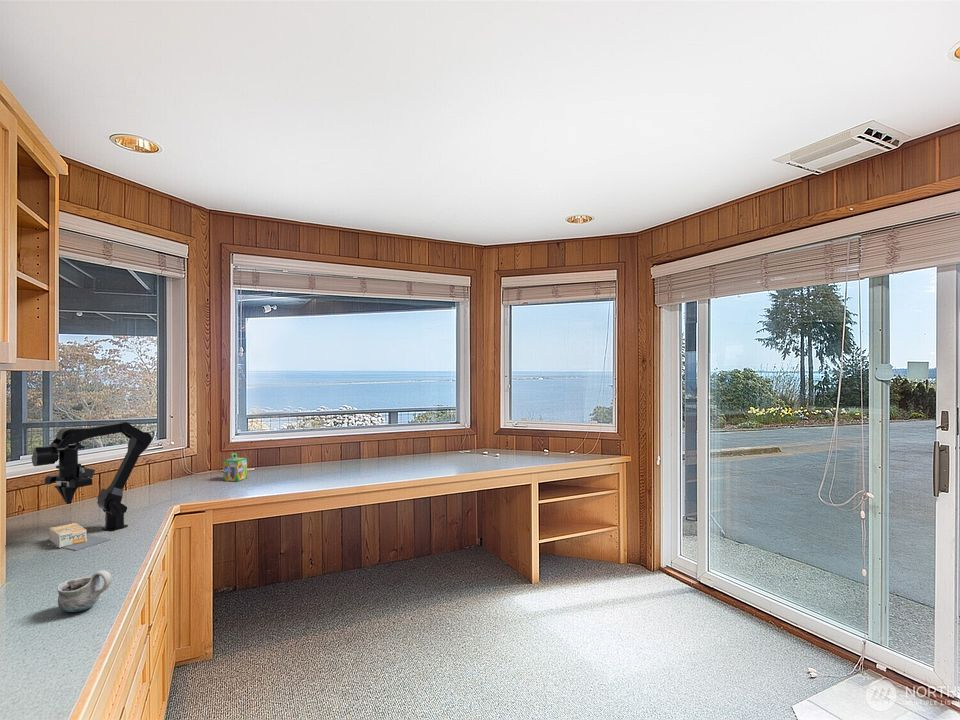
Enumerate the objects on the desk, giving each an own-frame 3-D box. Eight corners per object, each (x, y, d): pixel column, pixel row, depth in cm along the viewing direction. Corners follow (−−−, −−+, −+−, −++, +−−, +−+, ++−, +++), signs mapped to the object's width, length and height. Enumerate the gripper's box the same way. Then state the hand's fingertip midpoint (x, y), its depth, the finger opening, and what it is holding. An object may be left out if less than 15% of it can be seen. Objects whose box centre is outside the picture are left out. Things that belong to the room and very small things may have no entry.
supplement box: (75, 521, 205) (87, 528, 197) (75, 534, 205) (87, 542, 197) (48, 527, 199) (59, 534, 191) (48, 540, 199) (59, 548, 191)
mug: (68, 603, 148) (67, 566, 148) (119, 598, 152) (119, 562, 152) (49, 619, 139) (49, 580, 139) (105, 613, 142) (104, 575, 142)
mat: (110, 540, 200) (110, 539, 200) (76, 550, 189) (76, 549, 189) (83, 534, 206) (83, 533, 206) (47, 544, 195) (47, 543, 195)
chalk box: (237, 481, 294) (237, 454, 294) (222, 481, 295) (222, 454, 295) (247, 478, 303) (247, 451, 303) (233, 477, 305) (233, 451, 304)
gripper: (107, 459, 206) (107, 501, 206) (75, 456, 213) (75, 496, 213) (75, 465, 195) (75, 508, 195) (43, 461, 202) (43, 503, 202)
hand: (68, 503), depth 202 cm, fingers closed
